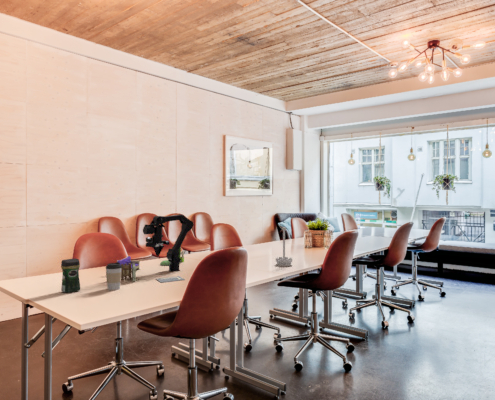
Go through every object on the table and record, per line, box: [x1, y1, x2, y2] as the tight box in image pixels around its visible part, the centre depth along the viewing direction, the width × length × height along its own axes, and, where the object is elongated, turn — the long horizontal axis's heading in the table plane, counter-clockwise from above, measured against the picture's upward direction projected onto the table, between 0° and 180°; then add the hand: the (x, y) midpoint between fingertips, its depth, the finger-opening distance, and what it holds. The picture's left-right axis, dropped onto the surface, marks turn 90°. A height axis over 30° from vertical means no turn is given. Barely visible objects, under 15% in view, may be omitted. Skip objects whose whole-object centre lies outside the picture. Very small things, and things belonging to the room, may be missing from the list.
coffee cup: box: [105, 261, 122, 291], centre depth 226 cm, size 9×9×15 cm
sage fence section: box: [131, 263, 137, 282], centre depth 249 cm, size 12×2×10 cm, turn 18°
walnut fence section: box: [121, 263, 132, 281], centre depth 250 cm, size 11×2×10 cm, turn 120°
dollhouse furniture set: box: [159, 246, 185, 267], centre depth 312 cm, size 14×29×11 cm, turn 176°
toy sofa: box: [116, 255, 140, 274], centre depth 274 cm, size 21×9×10 cm, turn 173°
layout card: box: [155, 275, 185, 284], centre depth 251 cm, size 16×11×1 cm
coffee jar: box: [60, 258, 81, 294], centre depth 220 cm, size 10×8×19 cm
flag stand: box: [275, 226, 293, 267], centre depth 303 cm, size 13×13×30 cm
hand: (157, 255), depth 271 cm, fingers closed
